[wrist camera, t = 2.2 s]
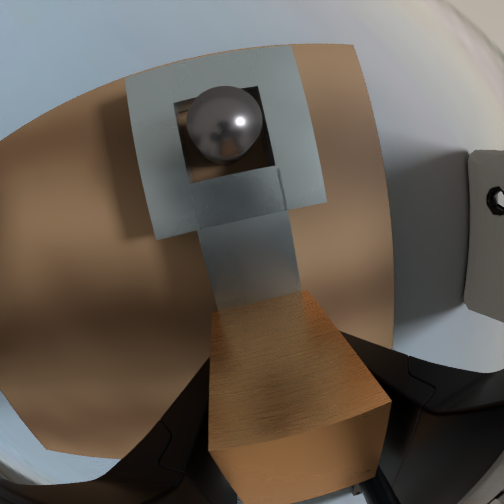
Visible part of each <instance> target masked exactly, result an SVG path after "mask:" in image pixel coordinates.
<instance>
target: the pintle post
mask: <svg viewBox="0 0 504 504" xmlns="http://www.w3.org/2000/svg"><path fill="white" fill-rule="evenodd" d="M186 125H187V130H188V133H189V136H190V138H191V139H192V141H193V142H194V144H195V145H196V147H197V148H198V150H199V151H200V152H201V154H202V155H203V156H204V157H205V158H206V159H207V160H208V161H210V162H212V163H214V164H218V165H227V164H232V163H234V162H236V161H238V160H239V159H241V158H242V157H243V156H244V154H245V153H246V152H247V151H248V149H249V148H250V147H251V146H252V144H253V143H254V142H255V141H256V139H257V138H258V136H259V134H260V131H261V128H262V113H261V109H260V107H259V105H258V103H257V102H256V100H255V99H254V98H253V97H252V96H251V95H250V94H249V93H247V92H246V91H244V90H242V89H240V88H237V87H233V86H217V87H213V88H211V89H208V90H206V91H204V92H203V93H201V94H200V95H199V96H198V97H197V98H196V99H195V100H194V101H193V102H192V104H191V106H190V108H189V110H188V113H187V118H186Z"/></svg>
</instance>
